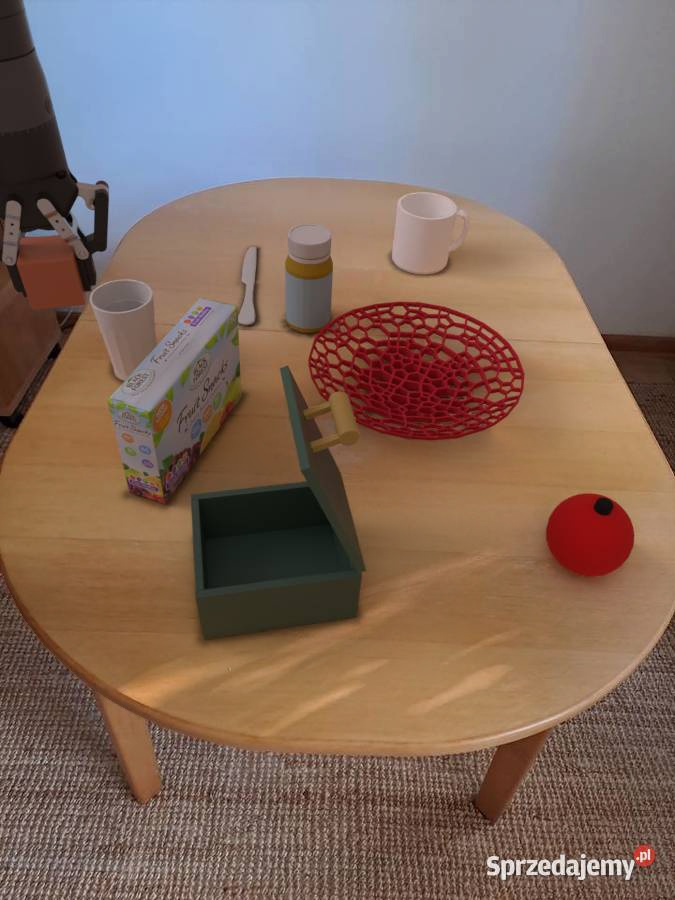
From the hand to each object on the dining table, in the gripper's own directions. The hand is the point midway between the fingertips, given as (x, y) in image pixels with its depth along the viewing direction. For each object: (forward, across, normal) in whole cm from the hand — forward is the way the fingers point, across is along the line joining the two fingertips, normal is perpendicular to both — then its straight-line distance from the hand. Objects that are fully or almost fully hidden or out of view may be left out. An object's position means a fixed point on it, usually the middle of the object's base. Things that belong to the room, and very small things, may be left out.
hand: (58, 289), depth 67 cm
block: (0, 0, 0) cm, 0 cm away
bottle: (+24, -31, -23) cm, 45 cm away
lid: (+8, -22, +23) cm, 33 cm away
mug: (+24, -55, -38) cm, 71 cm away
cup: (+24, -4, -16) cm, 29 cm away
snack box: (+24, -10, 0) cm, 26 cm away
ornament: (+24, -51, +27) cm, 63 cm away
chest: (+24, -17, +22) cm, 37 cm away
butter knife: (+24, -23, -35) cm, 48 cm away
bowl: (+24, -42, -4) cm, 48 cm away
